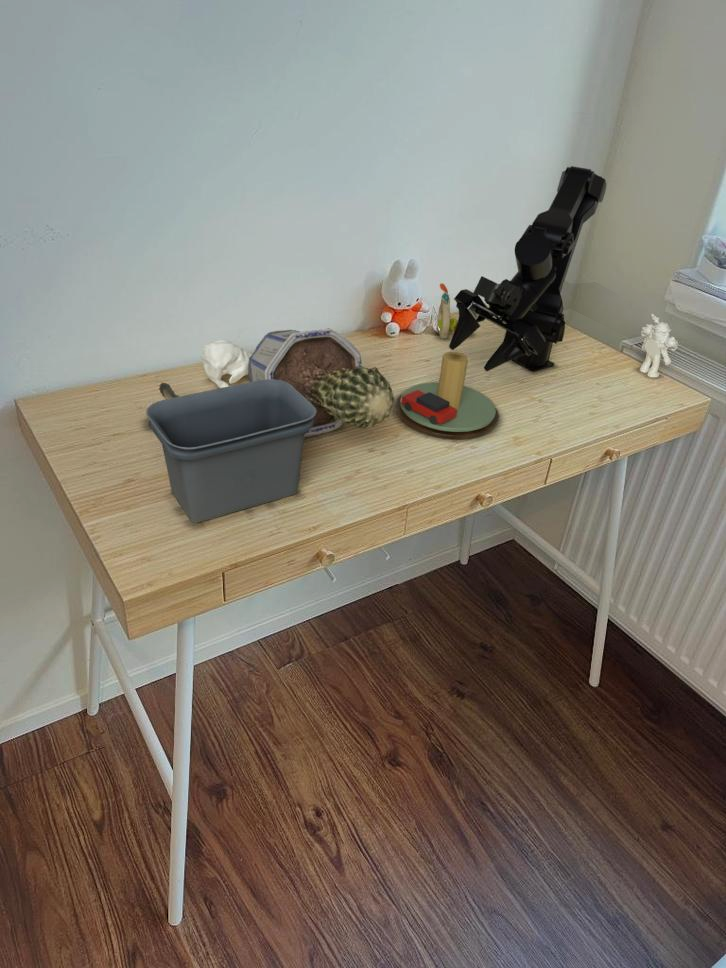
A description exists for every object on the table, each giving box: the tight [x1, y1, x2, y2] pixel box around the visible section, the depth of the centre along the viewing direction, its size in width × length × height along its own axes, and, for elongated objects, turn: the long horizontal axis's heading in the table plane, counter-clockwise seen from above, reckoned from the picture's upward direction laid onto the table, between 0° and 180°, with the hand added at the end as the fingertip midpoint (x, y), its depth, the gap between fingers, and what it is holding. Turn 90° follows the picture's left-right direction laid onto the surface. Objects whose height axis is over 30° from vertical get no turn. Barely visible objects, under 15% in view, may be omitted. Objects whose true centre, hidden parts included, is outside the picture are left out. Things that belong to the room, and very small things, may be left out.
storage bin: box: [145, 379, 317, 523], centre depth 109 cm, size 21×16×14 cm
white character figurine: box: [639, 313, 679, 378], centre depth 155 cm, size 9×4×12 cm, turn 24°
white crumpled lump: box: [200, 339, 253, 389], centre depth 139 cm, size 6×8×12 cm
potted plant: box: [247, 327, 396, 438], centre depth 123 cm, size 18×18×30 cm
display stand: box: [395, 393, 500, 441], centre depth 138 cm, size 18×18×1 cm
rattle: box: [436, 282, 458, 340], centre depth 163 cm, size 8×8×12 cm
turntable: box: [400, 351, 497, 432], centre depth 134 cm, size 17×17×10 cm
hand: (467, 358), depth 134 cm, fingers open, 9 cm apart
